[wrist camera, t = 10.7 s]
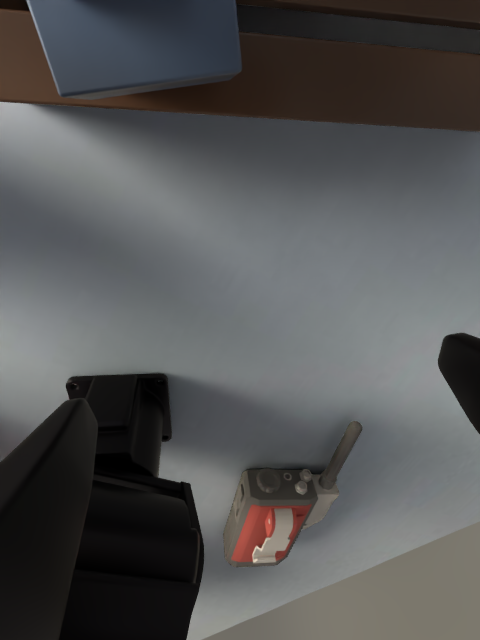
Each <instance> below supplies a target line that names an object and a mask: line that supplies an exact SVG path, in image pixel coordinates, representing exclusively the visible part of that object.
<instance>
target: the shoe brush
mask: <svg viewBox="0 0 480 640" xmlns="http://www.w3.org/2000/svg"><path fill="white" fill-rule="evenodd" d="M26 1H27V3H28V6H29V9H30V12H31V15H32V18H33V21H34V24H35V27H36V30H37V33H38V36H39V38H40V41H41V44H42V47H43V50H44V53H45V56H46V59H47V62H48V65H49V68H50V71H51V73H52V76H53V79H54V82H55V85H56V88H57V91H58V94H59V95H60V96H61V97H64V98H75V99H86V100H94V99H101V98H108V97H115V96H122V95H129V94H136V93H143V92H150V91H157V90H164V89H171V88H179V87H186V86H193V85H200V84H207V83H214V82H221V81H228V80H230V79H232V78H233V77H234V76H236V75H237V74H238V73H240V72H241V71H242V60H241V50H240V39H239V29H238V18H237V8H236V0H26Z"/></svg>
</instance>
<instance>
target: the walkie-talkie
mask: <svg viewBox="0 0 480 640" xmlns="http://www.w3.org/2000/svg"><path fill="white" fill-rule="evenodd" d="M361 431H362V425H361V424H360V423H359V422H357V421H352V422H350V424H349V426H348V428H347V429H346V431H345V433H344V435H343V437H342V439H341V441H340V443H339V445H338V447H337V449H336V451H335V453H334V455H333V457H332V459H331V461H330V463H329V465H328V466H327V468H326V470H324V471H323V472H322V474H321V475H315V474H311V472H310V471H309V470H308V469H304V470H273V469H270V468H265V469H249V470H246V471H245V472H243V473H242V476H241V479H240V482H239V485H238V489H237V492H236V495H235V498H234V503H233V504H232V505H233V506H232V507H231V508H232V509H231V510H230V511H231V512H230V515H229V518H228V521H227V524H226V527H225V530H224V533H223V539H224V553H225V560H226V561H227V562H228V563H229V564H230V565H232V566H233V567H253V566H274V565H278V564H279V563H280V562H281V561H282V560H284V559H285V558H286V557H287V556H288V555H289V552H290V550H291V549H292V547H293V544H294V543H295V541H296V539H297V538H298V535H299V533H300V532H301V529H306V528H308V527H310V526H312V525H313V524H315V523H317V522H319V521H321V520H322V519H323V518H324V516H325V515H326V513H327V511H328V510H329V508H330V506H331V504H332V503H333V501H334V500H335V499H337V497H338V495H339V490H338V488H337V485H336V483H335V482H336V480H337V475H338V473H339V471H340V470H341V468H342V466H343V464H344V462H345V460H346V459H347V457H348V455H349V453H350V451H351V449H352V448H353V446H354V444H355V442H356V440H357V439H358V437H359V435H360V433H361Z"/></svg>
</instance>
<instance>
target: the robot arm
mask: <svg viewBox="0 0 480 640" xmlns="http://www.w3.org/2000/svg"><path fill="white" fill-rule="evenodd" d="M438 366H439V369H440V371H441V373H442V375H443V376H444V378H445V380H446V381H447V383H448V385H449V386H450V388H451V390H452V392H453V393H454V395H455V397H456V398H457V400H458V402H459V403H460V405H461V407H462V409H463V410H464V412H465V414H466V415H467V417H468V418H469V420H470V422H471V423H472V424H473V426H474V427H475V429H476V430H477V432H478V433H479V434H480V338H477V337H474V336H472V335H469V334H466V333H456V334H450V335H447V336H445V338H444V339H443V342H442V346H441V350H440V354H439V358H438ZM158 380H162V382H159V381H158ZM74 384H77V385H74ZM66 389H67V392H68V395H69V399H70V400H67V401H65V402H64V403H63V404H62V405H60V406H59V407H58V408H57V409H56V410H55V411H54V412H53V413H52V414H51V415H50V416H49V417H48V418H47V419H46V420H45V421H44V422H43V423H41V424H40V425H39V426H38V427H37V428H36V429H35V430H34V431H33V432H32V433H31V434H30V435H29V436H28V437H27V438H26V439H25V440H23V441H22V442H21V443H20V444H19V445H18V446H17V447H16V448H15V449H14V450H13V451H12V452H11V453H10V454H9V455H8V456H7V457H6V458H4V459H3V460H2V461H1V462H0V640H186V638H187V634H188V629H189V624H190V619H191V615H192V611H193V608H194V605H195V602H196V599H197V595H198V592H199V587H200V583H201V579H202V572H203V564H204V545H203V538H202V534H201V529H200V525H199V521H198V516H197V512H196V507H195V503H194V499H193V494H192V490H191V485H190V483H186V482H182V481H181V482H180V483H179V482H175V481H170V480H166V479H162V478H158V475H159V464H160V453H161V442H166V441H169V440H170V439H171V437H172V428H171V414H170V401H169V388H168V378H167V376H166V375H164V374H160V373H158V374H131V375H104V376H76V377H71V378H69V379H68V381H67V383H66Z"/></svg>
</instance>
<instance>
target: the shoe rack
mask: <svg viewBox="0 0 480 640" xmlns="http://www.w3.org/2000/svg"><path fill="white" fill-rule="evenodd" d="M236 4H241V5H250V6H260V7H269V8H279V9H288V10H297V11H307V12H316V13H326V14H335V15H344V16H354V17H363V18H373V19H382V20H391V21H401V22H410V23H420V24H429V25H439V26H448V27H457V28H467V29H476V30H480V0H236ZM239 39H240V50H241V60H242V71H241V72H240V73H238V74H237V75H236V76H234V77H233V78H232V79H230V80H228V81H221V82H214V83H207V84H200V85H193V86H186V87H179V88H171V89H164V90H157V91H150V92H143V93H136V94H129V95H122V96H115V97H108V98H101V99H94V100H86V99H75V98H64V97H61V96H60V95H59V94H58V91H57V88H56V85H55V82H54V79H53V76H52V73H51V71H50V68H49V65H48V62H47V59H46V56H45V53H44V50H43V47H42V44H41V41H40V38H39V36H38V33H37V30H36V27H35V24H34V21H33V18H32V15H31V12H30V9H29V6H28V3H27V1H26V0H0V102H12V103H28V104H44V105H60V106H76V107H92V108H108V109H124V110H140V111H156V112H172V113H188V114H204V115H220V116H236V117H252V118H268V119H284V120H300V121H316V122H332V123H349V124H365V125H381V126H397V127H413V128H429V129H445V130H461V131H477V132H480V54H472V53H462V52H451V51H441V50H430V49H420V48H409V47H399V46H388V45H378V44H368V43H357V42H347V41H336V40H326V39H315V38H305V37H294V36H284V35H274V34H263V33H253V32H242V31H239Z"/></svg>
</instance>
